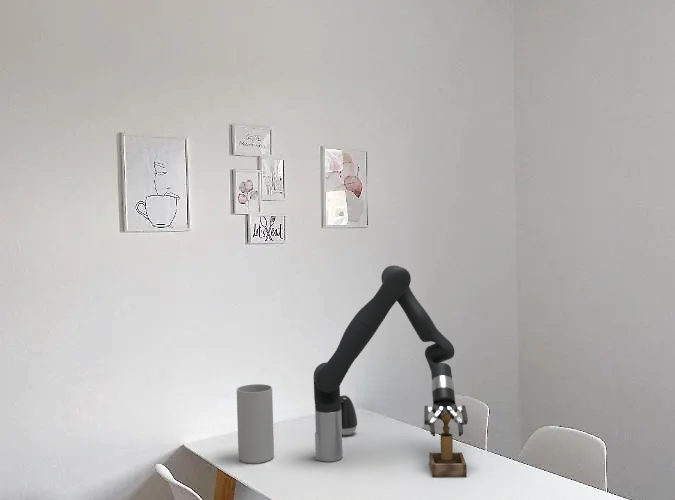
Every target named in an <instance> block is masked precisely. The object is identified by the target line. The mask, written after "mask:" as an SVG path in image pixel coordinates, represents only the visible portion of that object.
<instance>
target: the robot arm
mask: <svg viewBox="0 0 675 500" xmlns="http://www.w3.org/2000/svg"><path fill="white" fill-rule="evenodd" d="M380 276H381V283H382V284H381V286H380V287H379V288H378V291H377V292H376V294H375V295H373V297H372V298H371V299H370V300H369V301H368V302H367V303H366V304H365V305H364V306H363V307H361V308H360V310H359V311H357V313H356V314H355V315H354V317H353V318H352V319H351V320H350V322H349V323H348V326H347V327H346V328H345V330H344V332H343V334H342V337H341V338H340V341H339V343H338V345H337V348H336V350H335V351H334V353H333V354H332V356H331V357H330V358H329V360H327V361H326V362H322V363H320V364H318V365H317V366H316V367H315V370H314V371H313V396H314V397H313V398H314V415H315V417H314V418H315V432H314V438H315V439H314V445H315V446H314V447H315V449H314V450H315V461H319V462H325V463H327V462H329V463H330V462H337V461H338V462H339V461H340V460H342V459H343V436H342V415H341V398H340V396H341V387H340V386H341V384H342V383H343V381H344V378H345V377H346V375H347V373H348V372H349V370H350V368H351V366H352V365H353V363H354V362H355V361H356V359H357V358H358V356H359V355H360V354H361V353H362V352H363V350H364V349H365V348H366V347H367V345H368V344H369V342H370V341H371V340H372V338H373V336H374V335H375V334H376V333H377V331H378V329H379V328H380V326H381V325H382V323H383V322H384V320H385V318H386V317H387V315H388V314H389V312H390V310H391V309H392V307H393V306H394V305H395V304H396V303H398V305H400V307H401V309H402V310H403V312H404V314H405V315H406V317H407V320H408V321H409V322H410V324H411V326H412V327H413V329H414V331H415V333H416V334H417V336H418V338H419V339H420V341H421V342H422V343H423V342H424V343H427V342H428V343H429V342H433V344H431V345H428V346H427V347H425V349H424V350H425V351H424V356H425V359H426V362H427V363H428V367H429V369H430V372H431V373H430V374H431V394H432V406H428V405H424V411H423V412H424V413H423V414H424V415H423V422H424V425H426V426H427V425H428V426H429V429H430V431H429V432H430V435H432V437H436V427H435V425H436V423H437V422H438V421H439V420H440V421H442V419H441V417H442V415H443V414H445V413H447V414H449V415H450V417H451V419H450V420H451V421H453V422H454V423H456V424H457V429H458V430H457V431H458V437H462V435H463V434H464V425H465V426H466V425H467V424H468V421H469V418H468V413H467V408H466V405H465V404H462V405H461V406H457V404H456V395H455V388H454V382H453V375H452V368H451V366H450V364H449V363H445V362H446V361H448V360H451V359H452V358H454V356H455V347H454V345H453V344H452V343H451V341H450V340H449V339H448V338H447V337H445V336H444V335H443V334H442V332H440V330H438V328H437V327H436V325H435V323H434V321H433V320H432V318H431V317H430V314H428V312H427V311H426V310H425V308H424V307H423V306H422V305H421V302H420V301H419V300H418V299H417V298H416V296H415V295H414V293H413V291H412V290H411V287H410V284H411V282H412V281H411V280H412V279H411V278H412V277H411V274H410V272H409V270H408V269H406V268H404V267H401V266H399V265H389V266H387V267H386V268H384V269H383V271H382V273H381V275H380ZM431 412H432V413H433V416H432V418H431V419H429V414H431ZM458 412H459V414H460V415H461V417H462V419H461V417H460V416H459V415H458Z"/></svg>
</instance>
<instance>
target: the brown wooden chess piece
mask: <svg viewBox="0 0 675 500" xmlns="http://www.w3.org/2000/svg"><path fill="white" fill-rule="evenodd" d="M441 419H442V420H441ZM441 419H440V420H441V421H442V422H443V426H442V430H443V432H441V433H440V434H439V435H440V453H441V457H440V458H439V459H438V460H437V464H457V461H456V460H455V459H454V458H453V451H454V450H453V443H454V442H453V439H454V438H453V434H452V433H450V426H449V423H450V421H451V420H452V419H451V417H450V415H449V414H447V413H445V414H443V415H442V417H441Z"/></svg>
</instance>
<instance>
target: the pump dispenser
mask: <svg viewBox="0 0 675 500" xmlns="http://www.w3.org/2000/svg"><path fill="white" fill-rule="evenodd" d="M340 398H341V415H342V435H343V436H342V437H346V436H345V435H348V436H350V435H352V434H354V433H355V431H356V429H357V427H358V417H357V413H356V409H355V406H354V403H353V401H352V399H351V398H350V397H349V396H348V395H345V394H344V395H340Z"/></svg>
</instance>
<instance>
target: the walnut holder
mask: <svg viewBox="0 0 675 500" xmlns="http://www.w3.org/2000/svg"><path fill="white" fill-rule="evenodd" d="M428 457H429V461H428V463H429V468H430V472H431V473H430V474H431V478H467V476H468V474H467V472H468V471H467V463H466V459H465V457H464V455H463V452H459V451H458V452H453V458H454V459H455V460H456V461H457V464H437V460H438V459H439V458H440V457H441V452H429V453H428Z"/></svg>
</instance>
